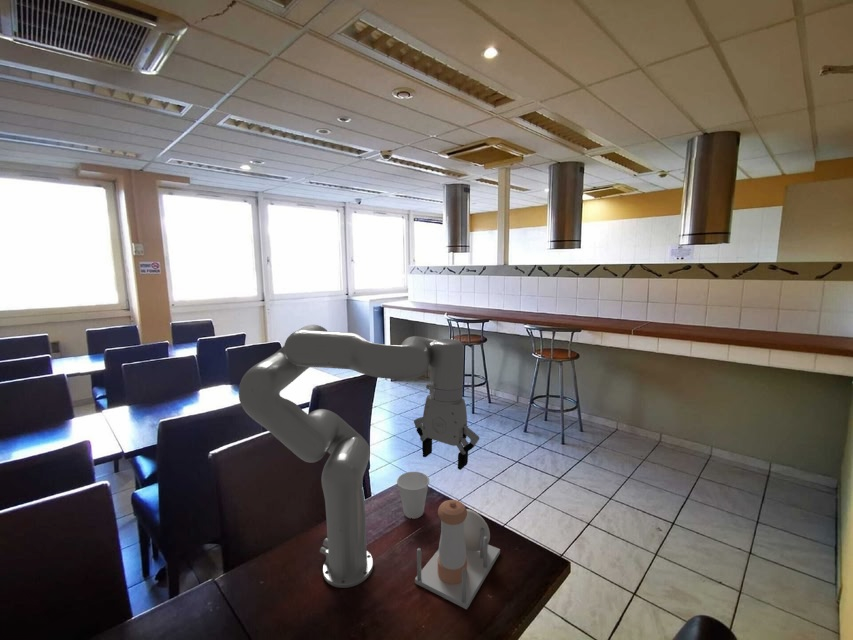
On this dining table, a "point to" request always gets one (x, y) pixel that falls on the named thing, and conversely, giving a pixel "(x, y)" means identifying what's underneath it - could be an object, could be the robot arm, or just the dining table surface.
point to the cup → (413, 493)
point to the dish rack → (477, 568)
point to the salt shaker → (452, 542)
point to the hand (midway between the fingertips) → (444, 460)
